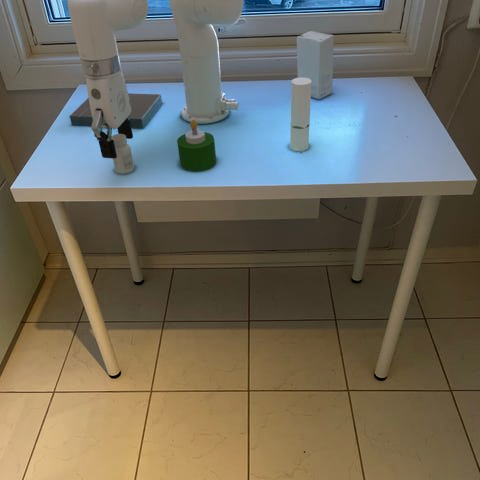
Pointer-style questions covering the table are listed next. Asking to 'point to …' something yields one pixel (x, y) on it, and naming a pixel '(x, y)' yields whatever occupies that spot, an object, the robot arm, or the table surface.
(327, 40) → the cosmetic box
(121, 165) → the pill bottle
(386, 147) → the table surface
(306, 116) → the tube
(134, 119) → the plate
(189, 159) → the candle
